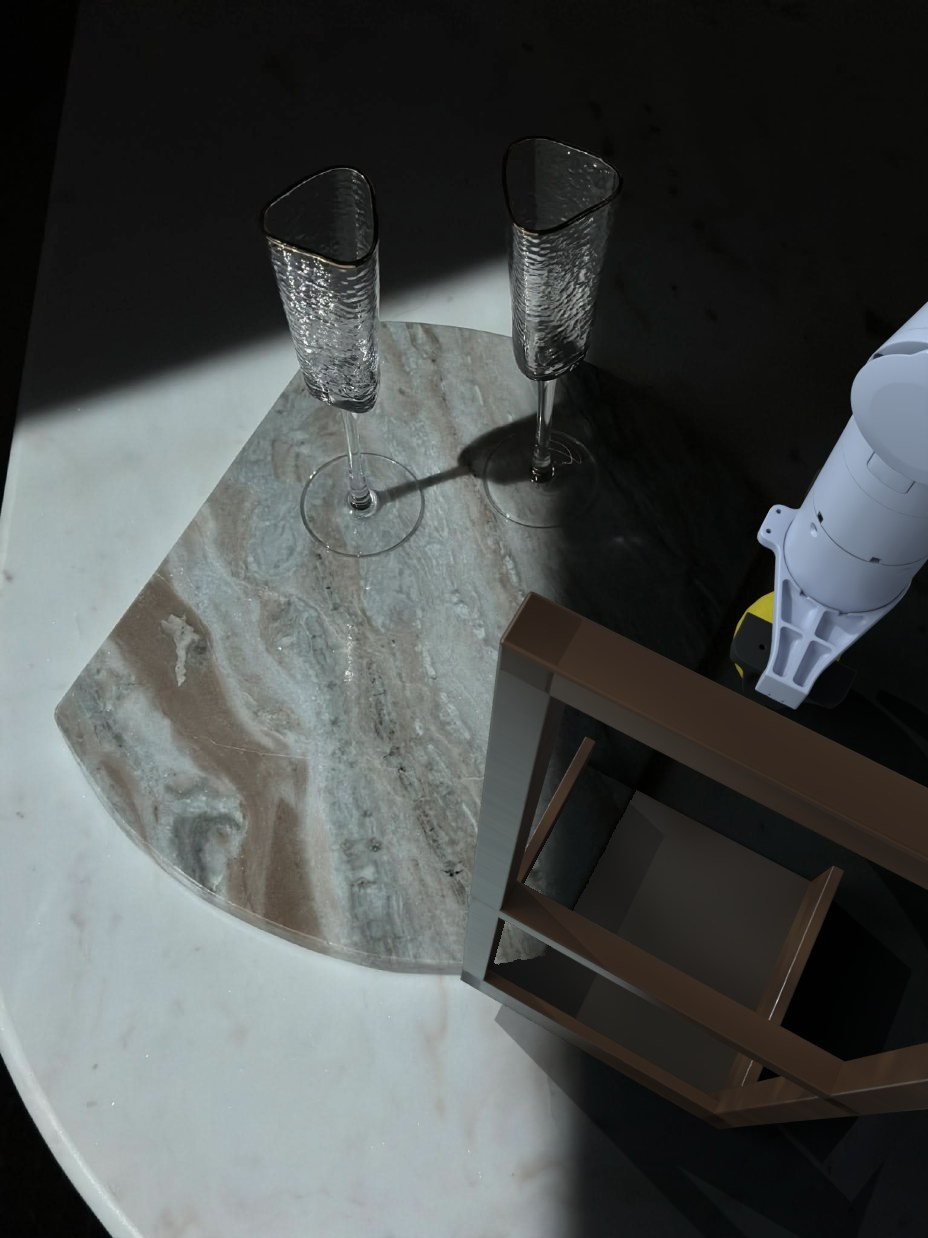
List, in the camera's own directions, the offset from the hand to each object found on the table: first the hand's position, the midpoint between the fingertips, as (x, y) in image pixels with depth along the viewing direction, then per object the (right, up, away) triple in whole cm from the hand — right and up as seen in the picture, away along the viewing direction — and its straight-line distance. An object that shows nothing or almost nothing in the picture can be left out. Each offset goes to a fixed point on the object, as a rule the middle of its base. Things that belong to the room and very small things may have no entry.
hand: (790, 637), depth 61 cm
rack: (-8, -15, -2) cm, 17 cm away
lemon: (0, -2, +5) cm, 5 cm away
